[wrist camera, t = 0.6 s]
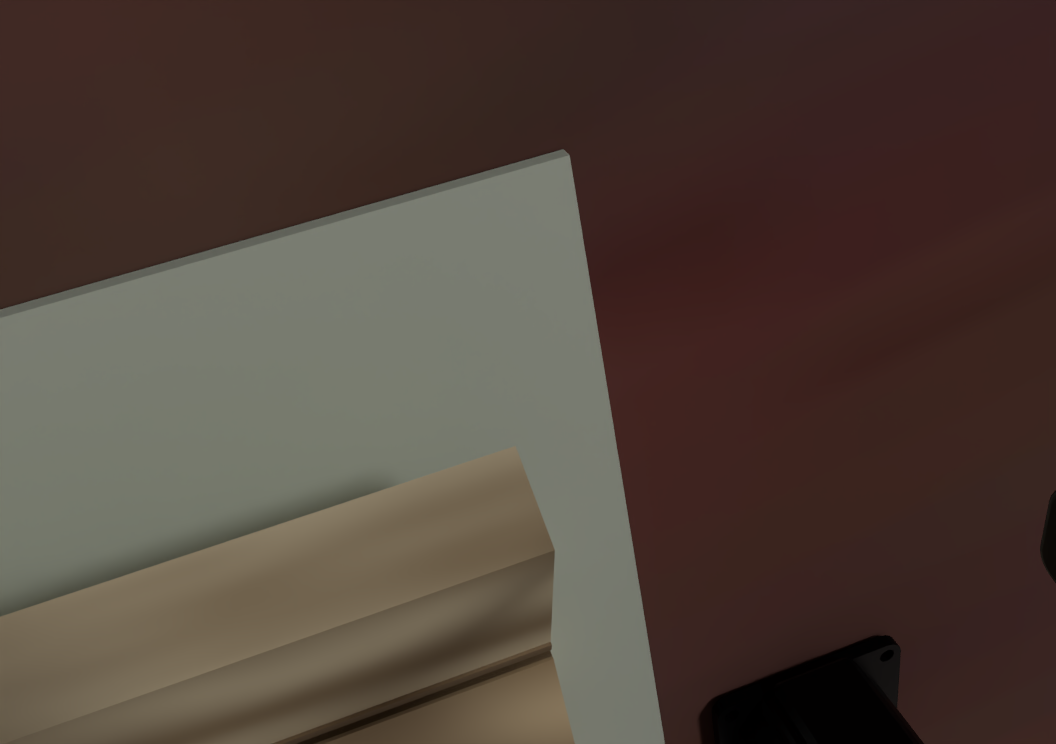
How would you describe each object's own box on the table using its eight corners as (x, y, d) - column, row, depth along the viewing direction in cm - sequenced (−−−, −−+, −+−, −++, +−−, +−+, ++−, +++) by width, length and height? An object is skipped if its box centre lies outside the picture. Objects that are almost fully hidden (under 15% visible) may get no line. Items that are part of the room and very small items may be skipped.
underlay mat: (660, 740, 30) (665, 750, 29) (-348, 1133, 25) (-355, 1150, 25) (562, 148, 19) (569, 155, 19) (-1235, 661, 15) (-1268, 680, 14)
